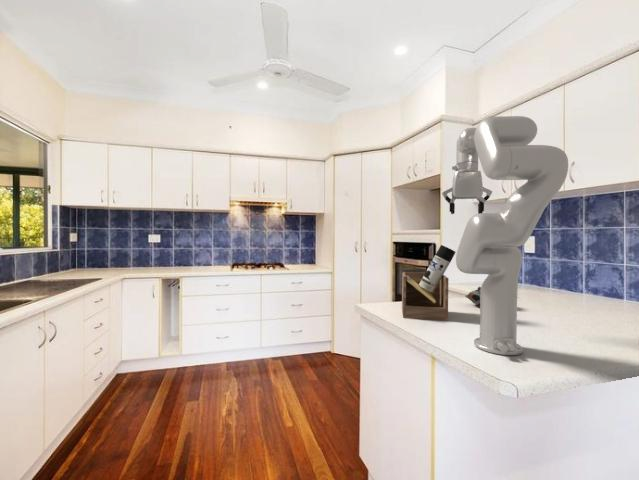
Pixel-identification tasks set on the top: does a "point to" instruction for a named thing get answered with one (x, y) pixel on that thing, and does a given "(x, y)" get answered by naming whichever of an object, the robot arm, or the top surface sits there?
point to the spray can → (436, 269)
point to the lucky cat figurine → (474, 296)
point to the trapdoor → (420, 288)
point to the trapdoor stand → (424, 299)
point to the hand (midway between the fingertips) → (466, 213)
